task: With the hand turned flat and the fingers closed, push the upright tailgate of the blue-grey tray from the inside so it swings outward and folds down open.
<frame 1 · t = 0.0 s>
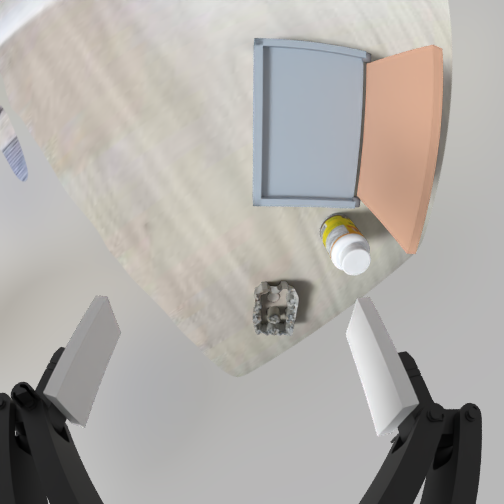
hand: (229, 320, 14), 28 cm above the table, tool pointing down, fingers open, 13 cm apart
tailgate: (394, 138, 24), point 11 cm above the table, hinge at -3.0°
blue-grey tray: (305, 122, 34), on the table
egg carton: (274, 302, 50), on the table
supplement bottle: (335, 228, 42), on the table
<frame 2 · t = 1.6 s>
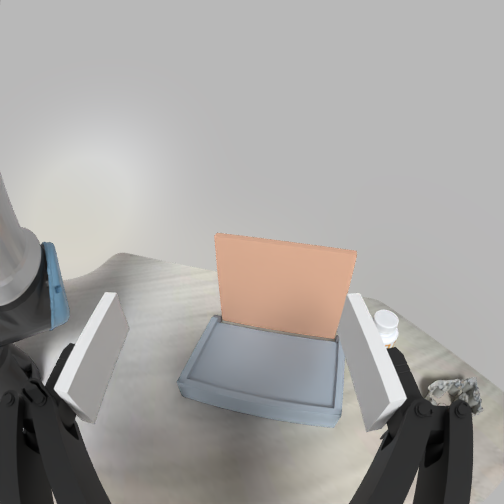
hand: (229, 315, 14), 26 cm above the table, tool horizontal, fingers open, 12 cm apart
tailgate: (281, 290, 40), point 11 cm above the table, hinge at -3.0°
blue-grey tray: (266, 377, 39), on the table
egg carton: (447, 407, 30), on the table
supplement bottle: (367, 362, 41), on the table
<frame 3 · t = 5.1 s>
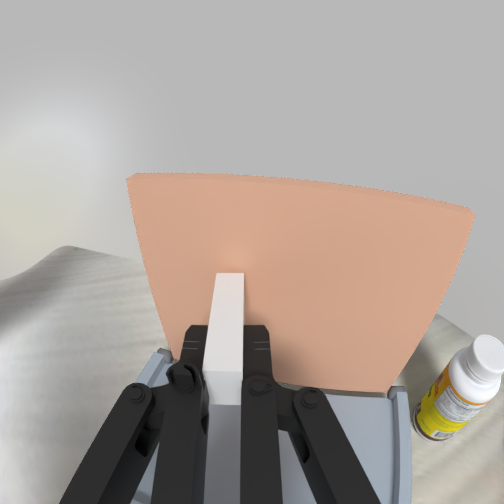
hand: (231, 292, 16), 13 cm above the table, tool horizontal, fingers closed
tailgate: (288, 307, 17), point 11 cm above the table, hinge at -2.8°, touching gripper
blue-grey tray: (257, 472, 16), on the table
supplement bottle: (433, 421, 18), on the table
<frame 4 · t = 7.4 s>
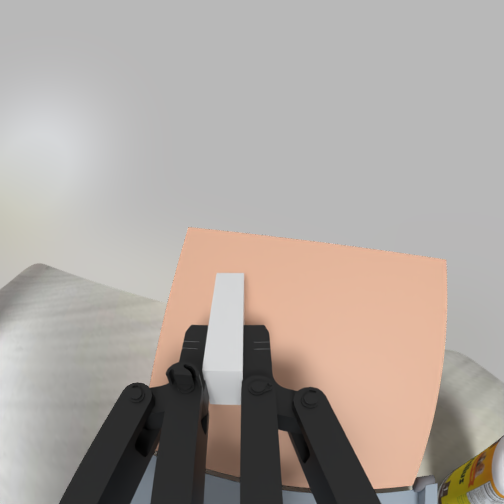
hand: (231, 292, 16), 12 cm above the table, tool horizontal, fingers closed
tailgate: (303, 367, 16), point 8 cm above the table, hinge at 50.9°
supplement bottle: (457, 496, 10), on the table
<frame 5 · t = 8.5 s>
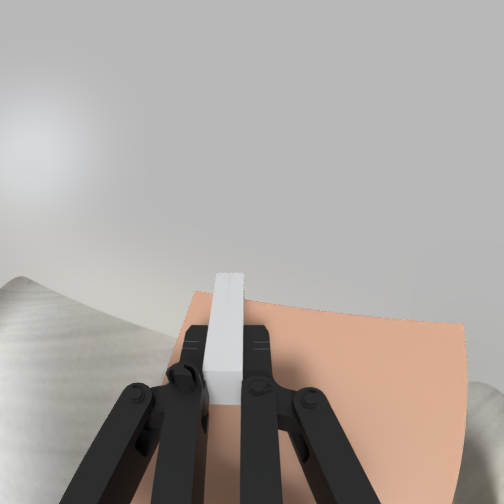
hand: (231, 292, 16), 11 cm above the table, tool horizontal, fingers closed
tailgate: (318, 444, 12), point 6 cm above the table, hinge at 67.6°
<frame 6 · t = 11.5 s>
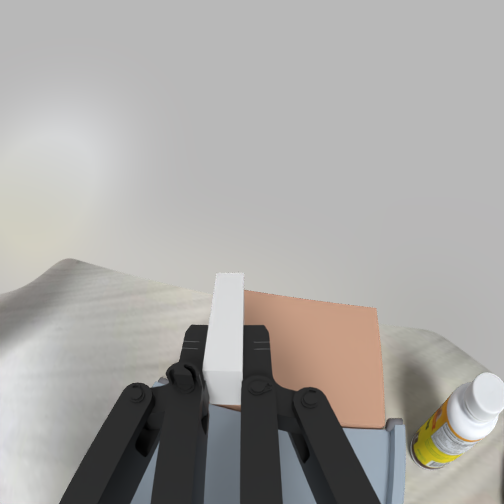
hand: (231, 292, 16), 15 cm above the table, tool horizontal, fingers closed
tailgate: (293, 351, 27), point 3 cm above the table, hinge at 90.1°
blue-grey tray: (255, 497, 15), on the table
supplement bottle: (430, 449, 17), on the table
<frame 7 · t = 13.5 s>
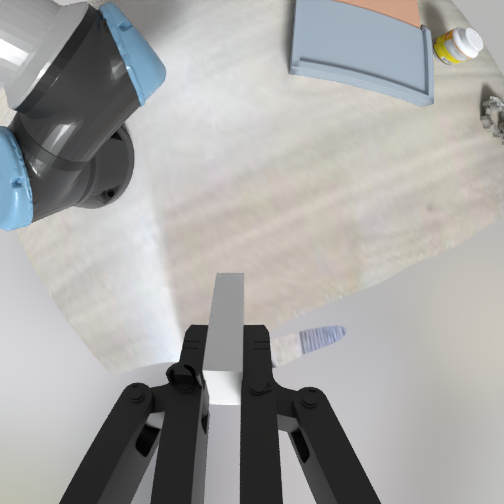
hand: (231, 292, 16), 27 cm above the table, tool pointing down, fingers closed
blue-grey tray: (362, 49, 31), on the table
egg carton: (495, 123, 32), on the table
supplement bottle: (441, 52, 29), on the table
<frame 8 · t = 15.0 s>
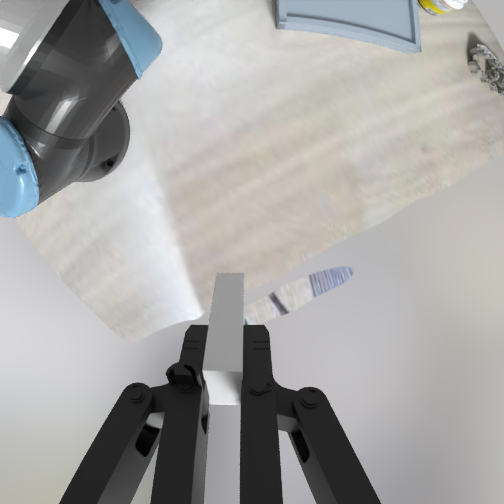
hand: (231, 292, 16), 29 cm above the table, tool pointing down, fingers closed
blue-grey tray: (346, 2, 27), on the table
egg carton: (483, 69, 29), on the table
supplement bottle: (426, 3, 24), on the table
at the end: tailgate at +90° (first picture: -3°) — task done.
